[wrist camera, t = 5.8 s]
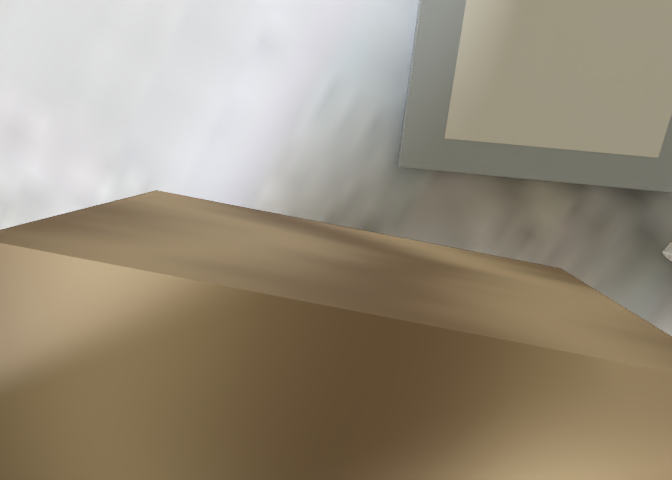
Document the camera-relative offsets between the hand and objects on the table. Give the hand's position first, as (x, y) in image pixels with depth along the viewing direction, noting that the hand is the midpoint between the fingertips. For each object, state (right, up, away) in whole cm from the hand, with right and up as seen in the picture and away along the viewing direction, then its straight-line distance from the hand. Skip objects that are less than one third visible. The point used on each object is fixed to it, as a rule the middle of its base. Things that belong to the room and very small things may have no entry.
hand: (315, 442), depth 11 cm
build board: (+14, +19, +11) cm, 26 cm away
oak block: (0, 0, +1) cm, 1 cm away
